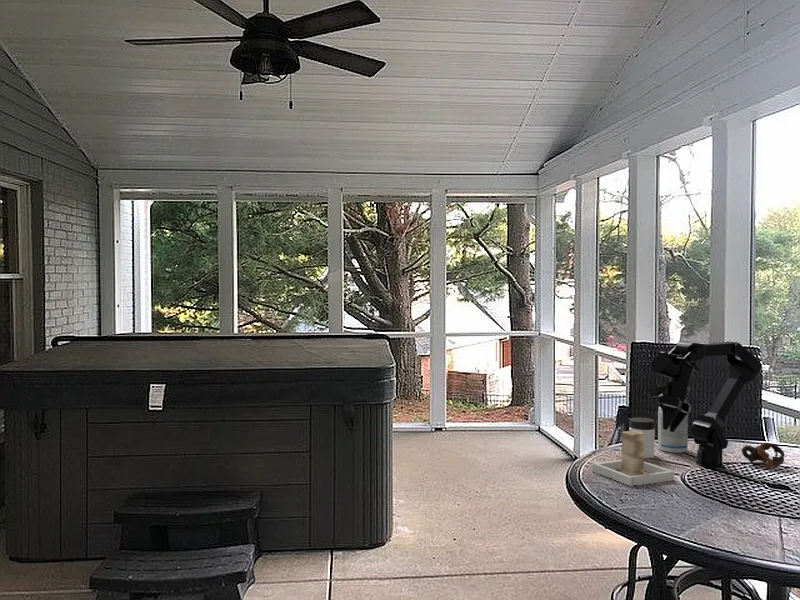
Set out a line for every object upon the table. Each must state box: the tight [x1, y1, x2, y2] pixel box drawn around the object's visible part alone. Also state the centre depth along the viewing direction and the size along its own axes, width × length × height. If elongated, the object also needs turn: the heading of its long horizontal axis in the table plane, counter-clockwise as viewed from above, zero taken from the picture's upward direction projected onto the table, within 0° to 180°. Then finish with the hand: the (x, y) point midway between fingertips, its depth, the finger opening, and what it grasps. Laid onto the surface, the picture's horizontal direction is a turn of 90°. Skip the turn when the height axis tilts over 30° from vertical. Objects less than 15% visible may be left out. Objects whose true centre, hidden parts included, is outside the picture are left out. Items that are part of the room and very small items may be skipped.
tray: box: [592, 459, 675, 487], centre depth 207 cm, size 16×16×2 cm
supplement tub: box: [657, 406, 689, 454], centre depth 238 cm, size 10×10×15 cm
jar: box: [628, 417, 656, 459], centre depth 231 cm, size 9×8×12 cm
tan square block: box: [620, 430, 645, 476], centre depth 206 cm, size 4×4×13 cm
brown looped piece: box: [741, 442, 786, 470], centre depth 219 cm, size 12×10×8 cm
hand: (668, 430), depth 212 cm, fingers open, 9 cm apart
